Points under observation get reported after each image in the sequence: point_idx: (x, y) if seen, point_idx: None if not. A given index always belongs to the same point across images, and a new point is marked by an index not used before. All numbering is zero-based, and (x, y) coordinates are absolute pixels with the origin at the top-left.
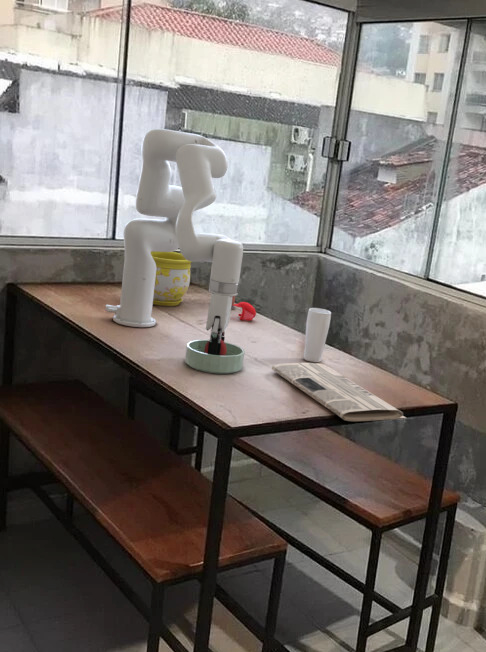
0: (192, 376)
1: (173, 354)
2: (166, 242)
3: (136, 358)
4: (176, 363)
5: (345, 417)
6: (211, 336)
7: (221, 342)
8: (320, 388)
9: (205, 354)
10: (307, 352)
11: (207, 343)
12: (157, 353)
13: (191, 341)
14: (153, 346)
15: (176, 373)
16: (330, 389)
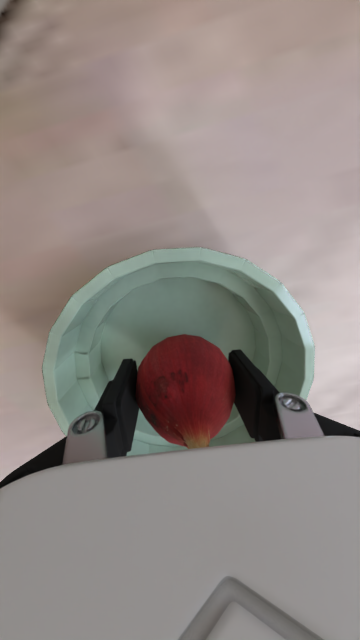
0: (17, 320)
1: (244, 184)
2: None
3: (80, 7)
4: (128, 229)
5: None
6: (4, 482)
7: (170, 442)
8: None
9: (43, 377)
10: None
11: (166, 367)
12: (225, 104)
13: (232, 259)
14: (334, 46)
15: (5, 262)
16: None
